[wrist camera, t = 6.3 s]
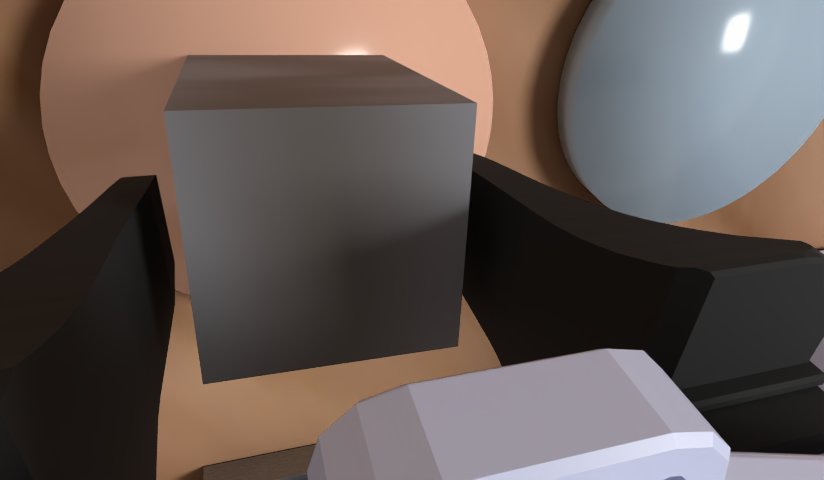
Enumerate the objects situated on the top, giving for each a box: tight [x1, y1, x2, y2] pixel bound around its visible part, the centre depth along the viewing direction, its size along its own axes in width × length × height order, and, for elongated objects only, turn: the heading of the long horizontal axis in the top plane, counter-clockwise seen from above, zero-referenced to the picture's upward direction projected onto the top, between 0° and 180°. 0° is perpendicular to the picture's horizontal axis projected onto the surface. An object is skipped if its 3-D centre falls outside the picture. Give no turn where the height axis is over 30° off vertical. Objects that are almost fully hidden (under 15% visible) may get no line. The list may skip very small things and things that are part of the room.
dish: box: [40, 0, 493, 295], centre depth 15 cm, size 11×11×1 cm
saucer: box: [557, 0, 824, 223], centre depth 18 cm, size 10×10×1 cm
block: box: [164, 55, 477, 384], centre depth 12 cm, size 4×4×6 cm
